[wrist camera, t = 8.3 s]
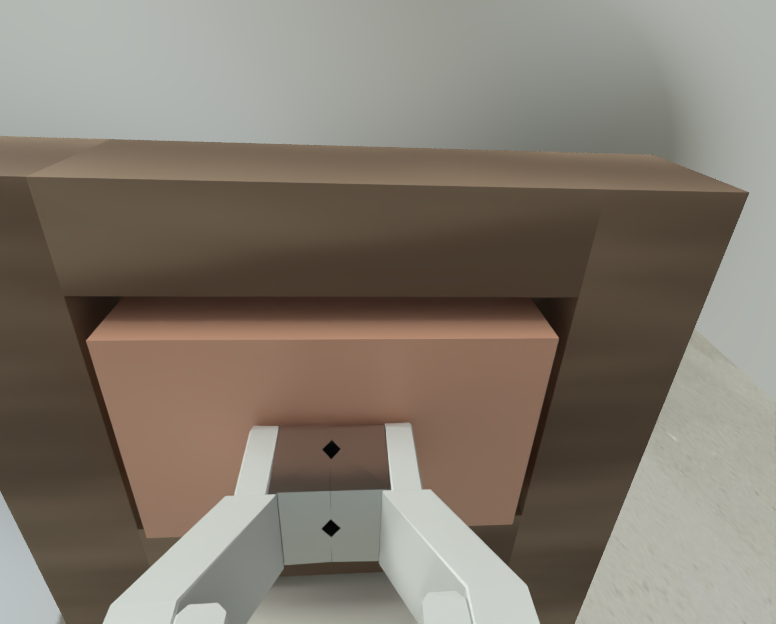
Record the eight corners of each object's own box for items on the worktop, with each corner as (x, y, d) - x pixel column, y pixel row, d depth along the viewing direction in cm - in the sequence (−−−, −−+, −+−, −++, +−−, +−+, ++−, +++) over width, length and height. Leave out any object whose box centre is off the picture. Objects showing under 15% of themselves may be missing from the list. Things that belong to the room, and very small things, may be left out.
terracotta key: (512, 524, 11) (558, 338, 9) (146, 537, 10) (86, 340, 8) (472, 407, 15) (498, 251, 12) (196, 412, 14) (164, 248, 11)
